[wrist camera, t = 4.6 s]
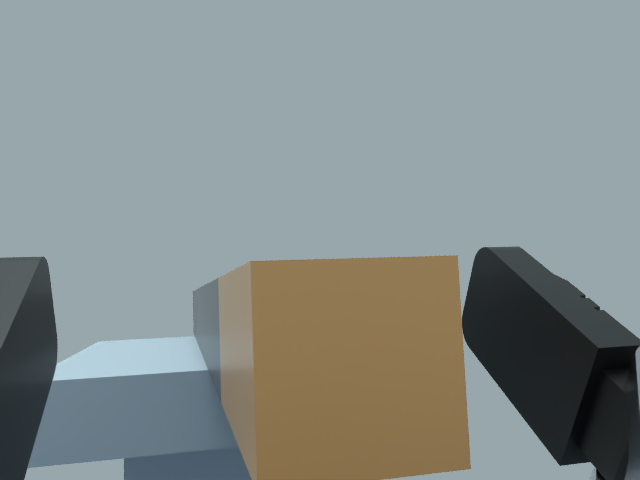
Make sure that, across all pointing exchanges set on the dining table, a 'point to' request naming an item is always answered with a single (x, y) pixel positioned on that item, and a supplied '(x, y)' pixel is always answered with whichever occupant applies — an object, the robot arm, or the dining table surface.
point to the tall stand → (139, 413)
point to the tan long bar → (339, 366)
